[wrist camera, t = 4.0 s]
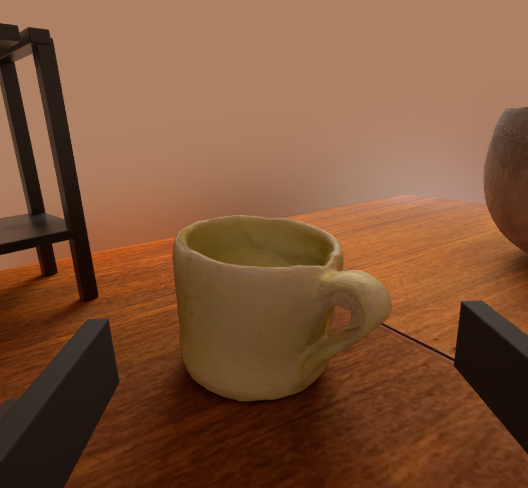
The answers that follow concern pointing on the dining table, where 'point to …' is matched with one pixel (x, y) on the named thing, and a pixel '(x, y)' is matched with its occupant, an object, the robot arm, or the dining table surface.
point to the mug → (266, 304)
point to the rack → (37, 221)
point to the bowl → (509, 176)
